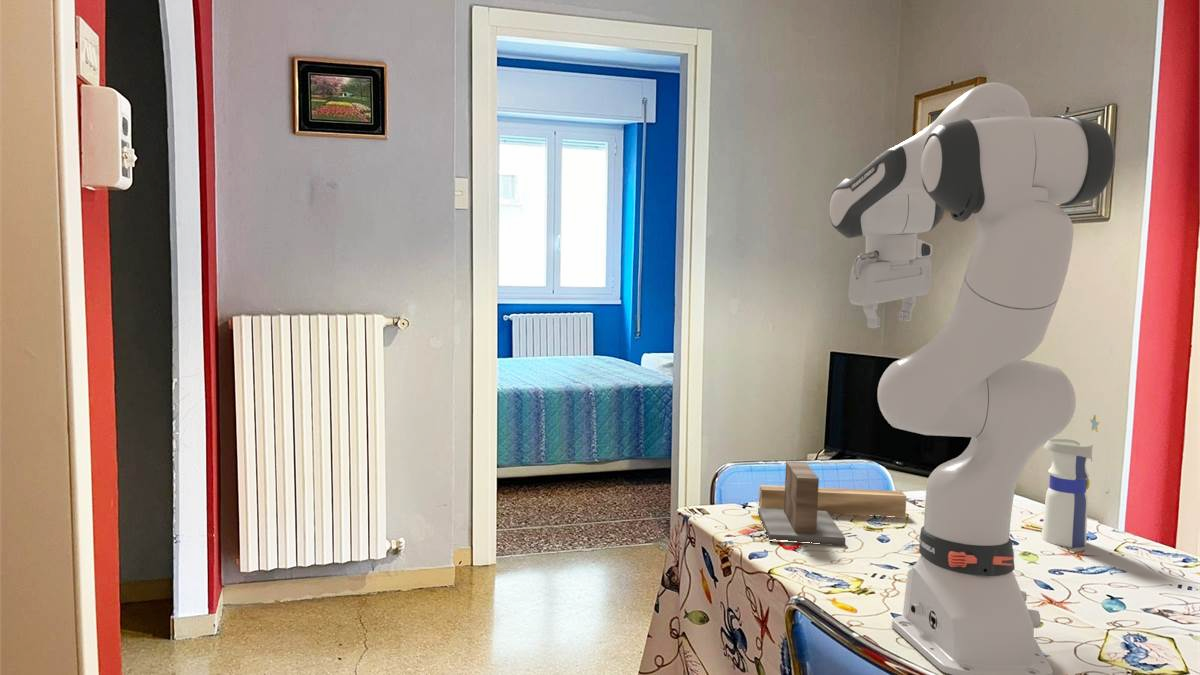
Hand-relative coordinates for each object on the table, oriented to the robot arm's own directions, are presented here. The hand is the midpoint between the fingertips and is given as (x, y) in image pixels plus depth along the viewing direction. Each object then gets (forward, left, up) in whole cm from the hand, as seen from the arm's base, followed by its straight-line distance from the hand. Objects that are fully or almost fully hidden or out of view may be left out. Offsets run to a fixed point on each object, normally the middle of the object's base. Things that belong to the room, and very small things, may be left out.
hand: (889, 324), depth 155 cm
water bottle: (+8, -37, -42) cm, 57 cm away
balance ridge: (+7, +14, -42) cm, 44 cm away
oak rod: (+21, +5, -42) cm, 47 cm away
